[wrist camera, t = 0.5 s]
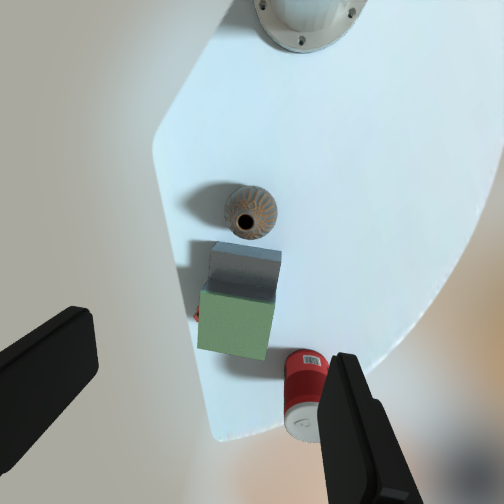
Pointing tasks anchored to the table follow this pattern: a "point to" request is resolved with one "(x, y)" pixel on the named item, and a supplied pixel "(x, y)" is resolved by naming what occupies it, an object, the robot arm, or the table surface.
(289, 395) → the canned food
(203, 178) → the table surface
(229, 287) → the stand
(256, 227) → the vase
